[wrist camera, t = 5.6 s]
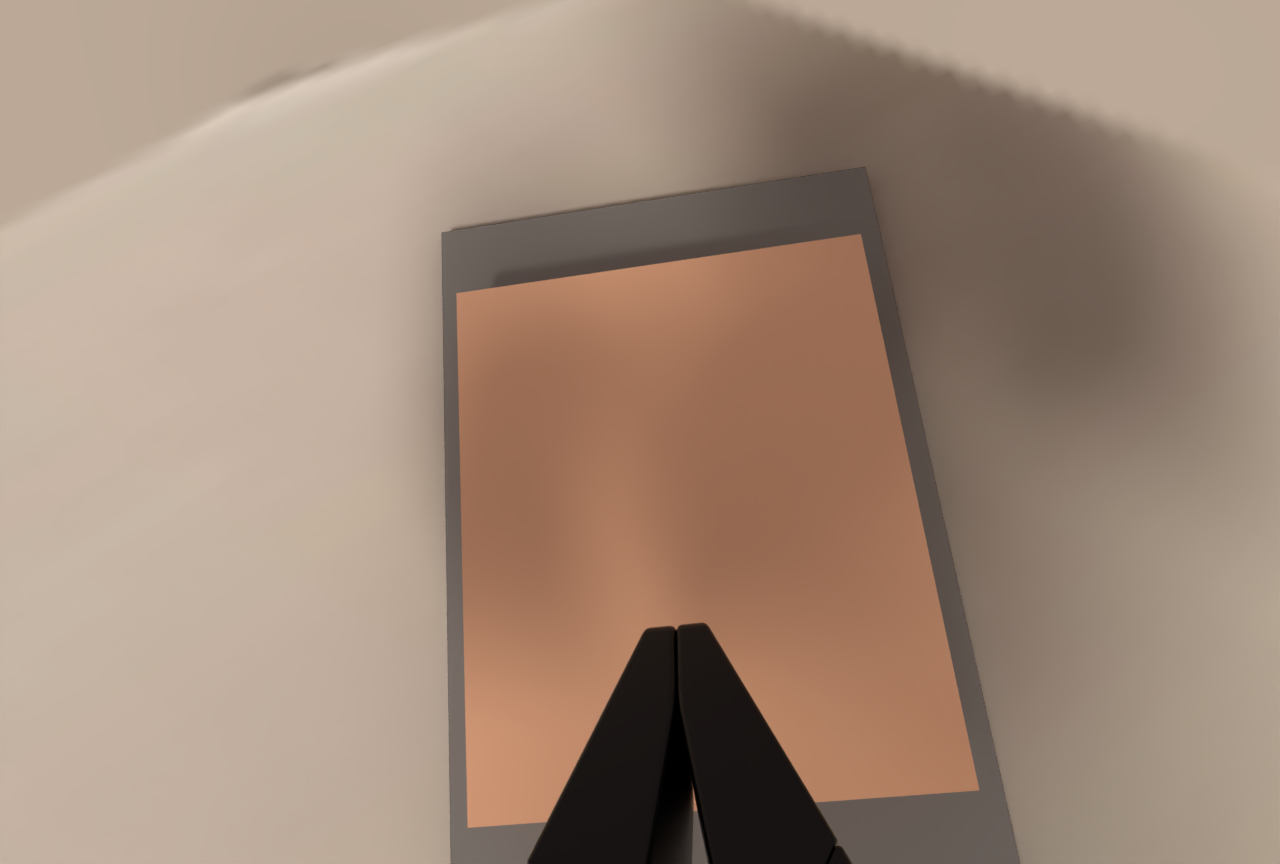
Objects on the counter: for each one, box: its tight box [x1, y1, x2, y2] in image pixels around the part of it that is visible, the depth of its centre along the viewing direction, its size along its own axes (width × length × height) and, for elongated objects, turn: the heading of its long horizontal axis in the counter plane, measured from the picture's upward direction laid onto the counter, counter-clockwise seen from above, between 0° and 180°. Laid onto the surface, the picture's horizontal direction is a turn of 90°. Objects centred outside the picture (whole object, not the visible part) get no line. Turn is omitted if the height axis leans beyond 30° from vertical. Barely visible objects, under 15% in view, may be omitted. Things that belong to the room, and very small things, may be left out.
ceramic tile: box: [456, 234, 979, 828], centre depth 15 cm, size 2×10×12 cm
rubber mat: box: [442, 167, 1020, 864], centre depth 16 cm, size 18×12×1 cm, turn 5°
